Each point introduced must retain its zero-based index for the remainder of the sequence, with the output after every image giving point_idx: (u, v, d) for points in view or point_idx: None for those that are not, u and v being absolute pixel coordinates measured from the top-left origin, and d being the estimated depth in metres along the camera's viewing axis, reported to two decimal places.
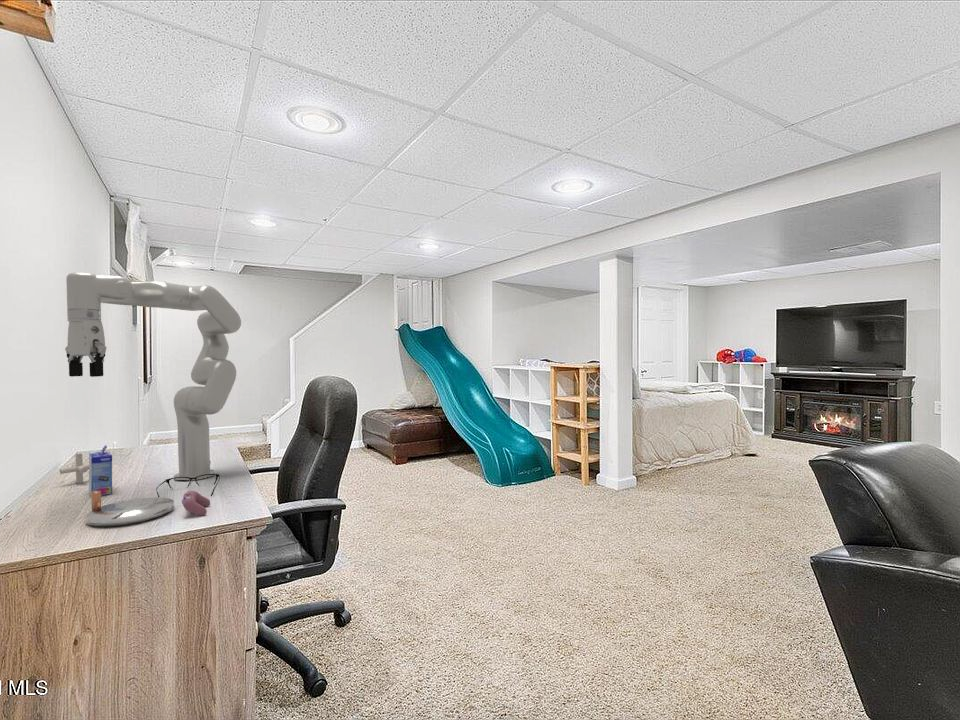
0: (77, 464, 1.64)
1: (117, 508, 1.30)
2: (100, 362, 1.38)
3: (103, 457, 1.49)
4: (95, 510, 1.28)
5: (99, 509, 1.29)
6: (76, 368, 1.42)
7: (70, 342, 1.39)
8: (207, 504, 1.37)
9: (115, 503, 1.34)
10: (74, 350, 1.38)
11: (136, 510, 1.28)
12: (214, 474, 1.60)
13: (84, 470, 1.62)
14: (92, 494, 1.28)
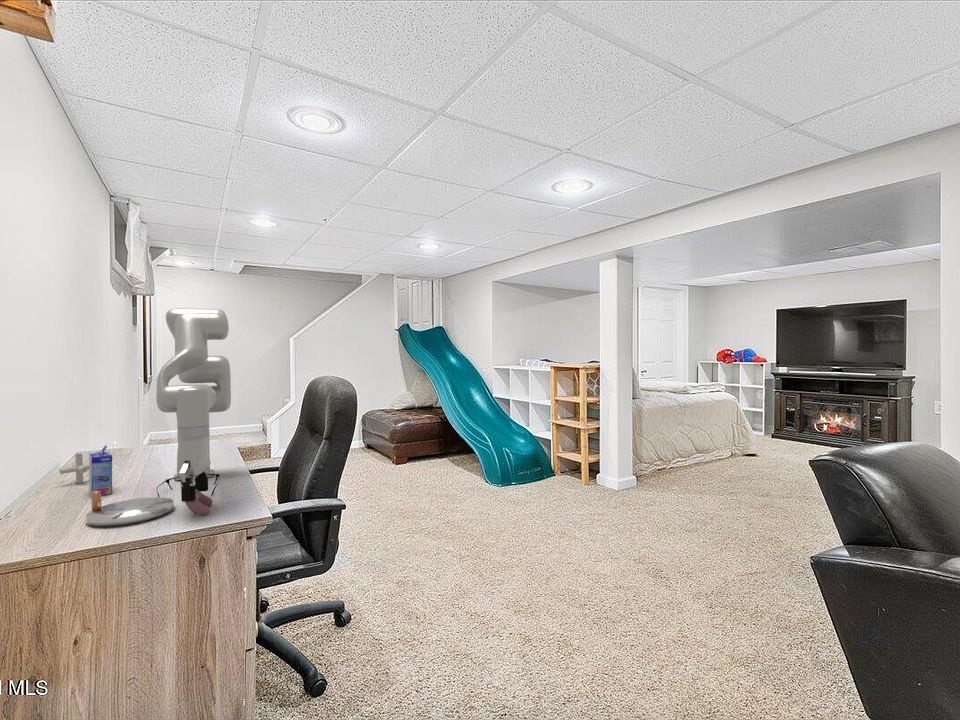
0: (77, 464, 1.64)
1: (117, 508, 1.30)
2: None
3: (103, 457, 1.49)
4: (95, 510, 1.28)
5: (99, 509, 1.29)
6: None
7: (200, 460, 1.30)
8: (210, 503, 1.37)
9: (115, 503, 1.34)
10: (202, 468, 1.32)
11: (136, 510, 1.28)
12: (214, 474, 1.60)
13: (84, 470, 1.62)
14: (92, 494, 1.28)
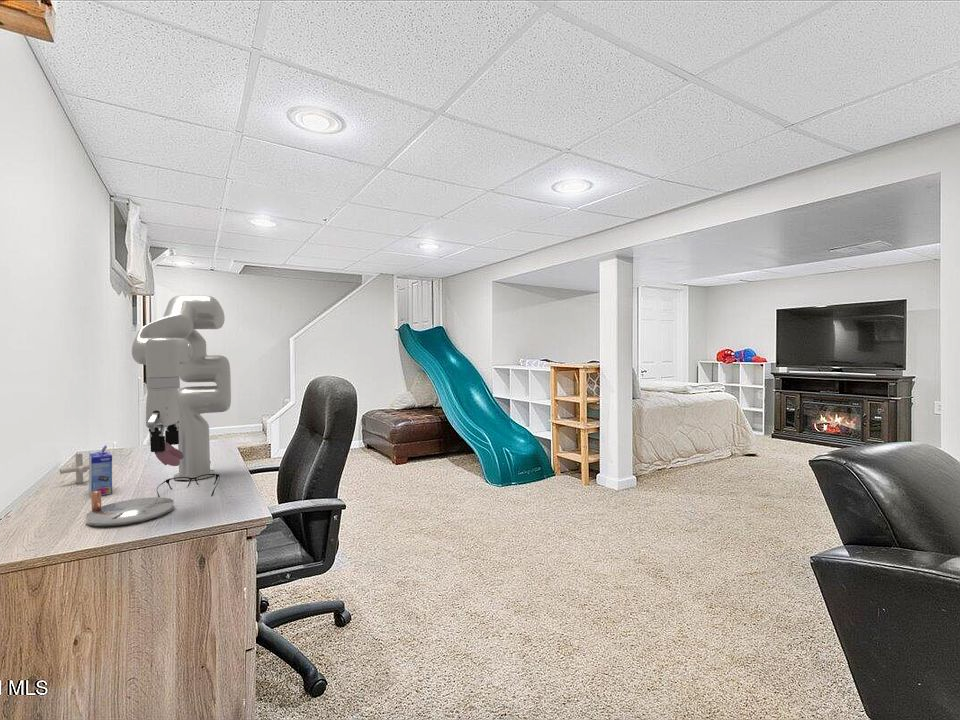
0: (77, 464, 1.64)
1: (117, 508, 1.30)
2: None
3: (103, 457, 1.49)
4: (95, 510, 1.28)
5: (99, 509, 1.29)
6: None
7: (170, 411, 1.29)
8: (181, 457, 1.36)
9: (115, 503, 1.34)
10: (172, 419, 1.31)
11: (136, 510, 1.28)
12: (214, 474, 1.60)
13: (84, 470, 1.62)
14: (92, 494, 1.28)
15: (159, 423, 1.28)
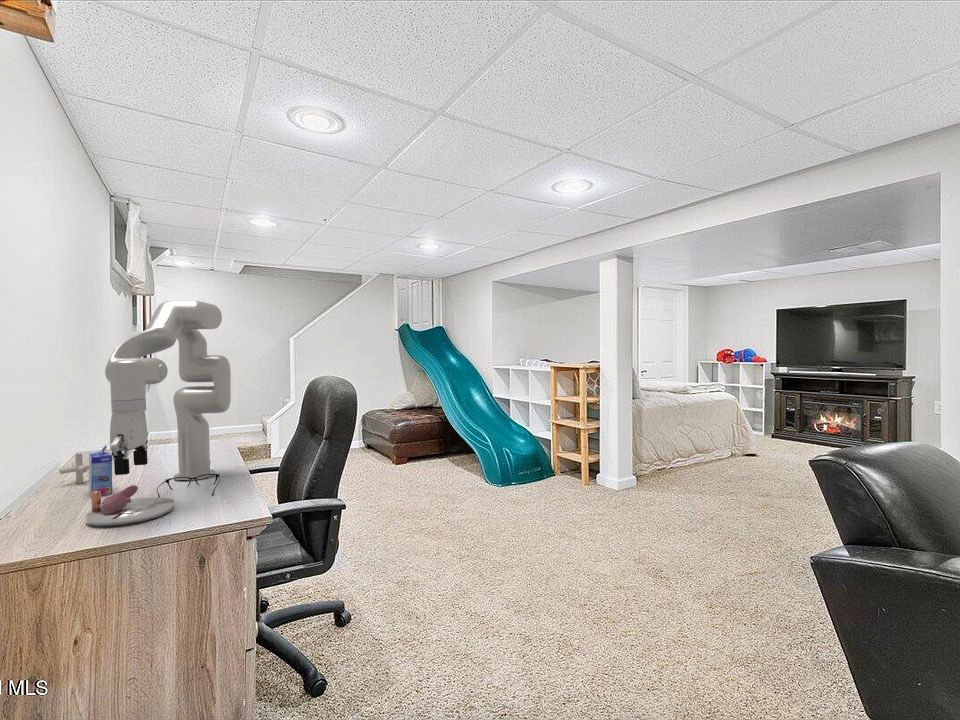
0: (77, 464, 1.64)
1: None
2: None
3: (103, 457, 1.49)
4: (95, 510, 1.28)
5: (99, 509, 1.29)
6: None
7: (135, 434, 1.28)
8: (134, 488, 1.34)
9: None
10: (137, 442, 1.30)
11: (136, 510, 1.28)
12: (214, 474, 1.60)
13: (84, 470, 1.62)
14: (92, 494, 1.28)
15: (124, 446, 1.27)
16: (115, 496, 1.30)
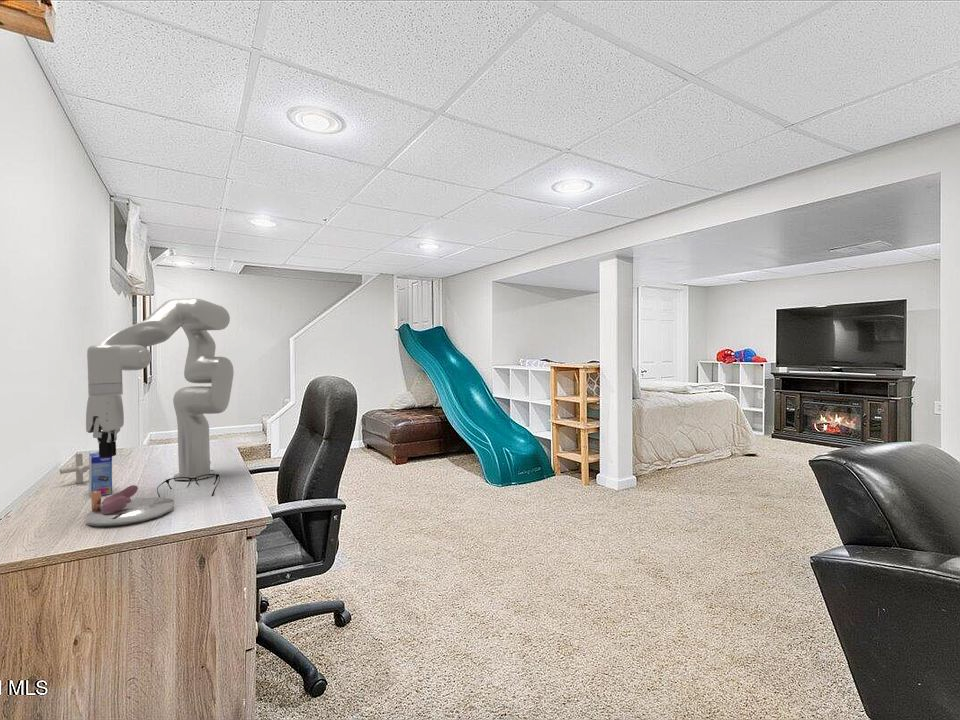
0: (77, 464, 1.64)
1: None
2: None
3: (103, 457, 1.49)
4: (95, 510, 1.28)
5: (99, 509, 1.29)
6: None
7: (111, 417, 1.32)
8: (134, 488, 1.34)
9: None
10: (113, 425, 1.34)
11: (136, 510, 1.28)
12: (214, 474, 1.60)
13: (84, 470, 1.62)
14: (92, 494, 1.28)
15: None
16: (115, 496, 1.30)
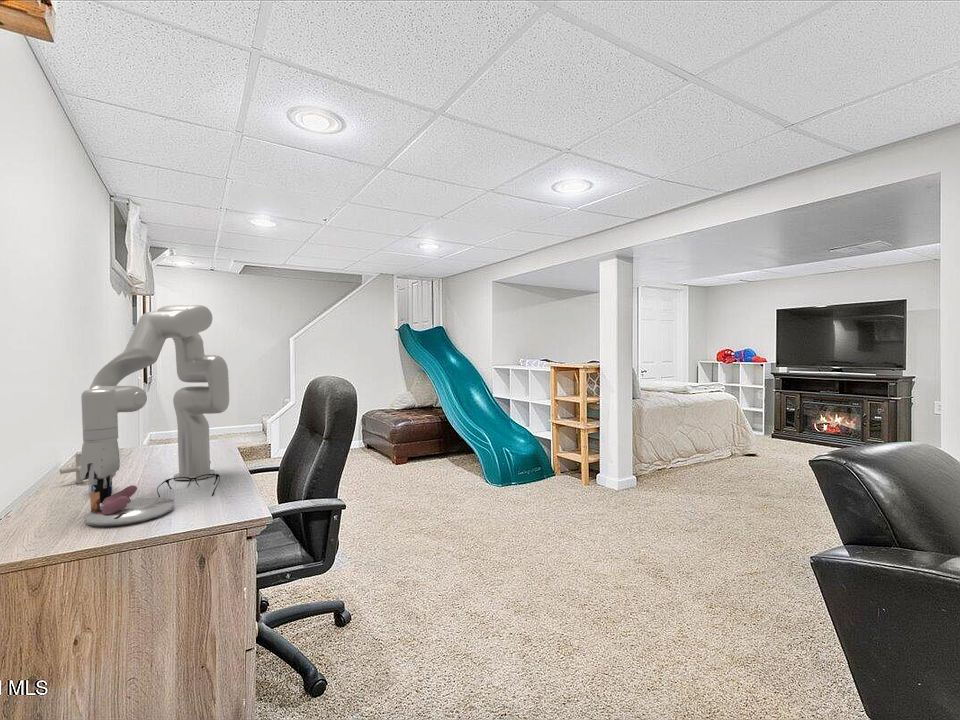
0: (77, 464, 1.64)
1: None
2: None
3: None
4: (94, 511, 1.27)
5: (98, 510, 1.28)
6: None
7: (106, 463, 1.29)
8: (133, 488, 1.33)
9: None
10: (109, 470, 1.31)
11: (137, 510, 1.28)
12: (214, 474, 1.60)
13: None
14: (91, 495, 1.27)
15: None
16: (114, 496, 1.30)
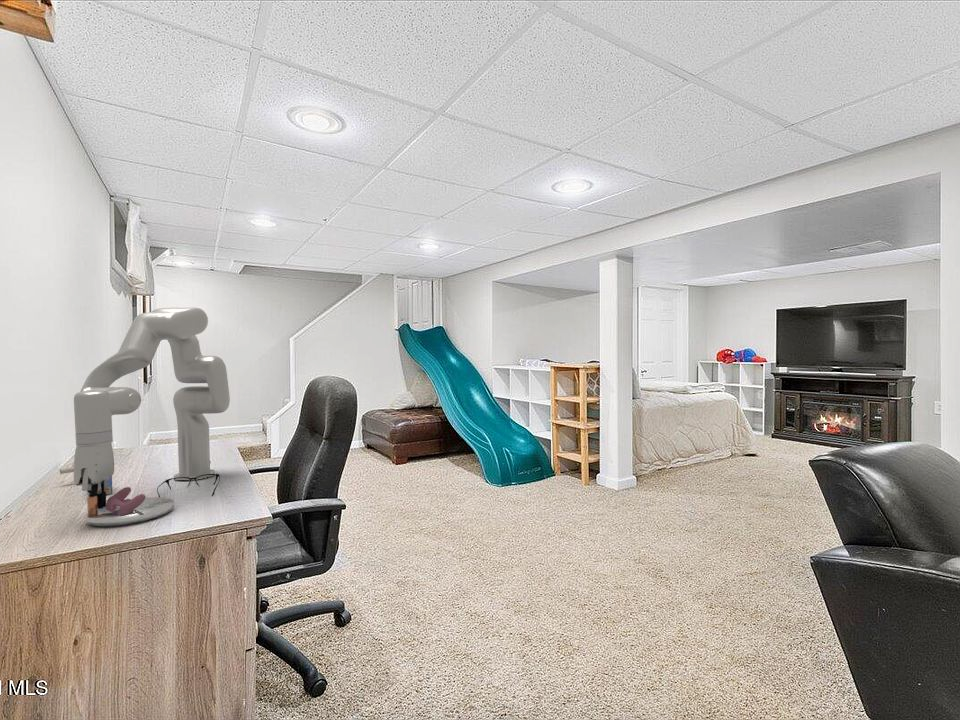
0: None
1: None
2: None
3: None
4: (94, 515, 1.24)
5: (97, 514, 1.24)
6: None
7: (100, 467, 1.25)
8: (129, 489, 1.32)
9: None
10: (103, 475, 1.26)
11: (145, 507, 1.30)
12: (214, 474, 1.60)
13: None
14: (91, 499, 1.23)
15: None
16: (116, 499, 1.28)
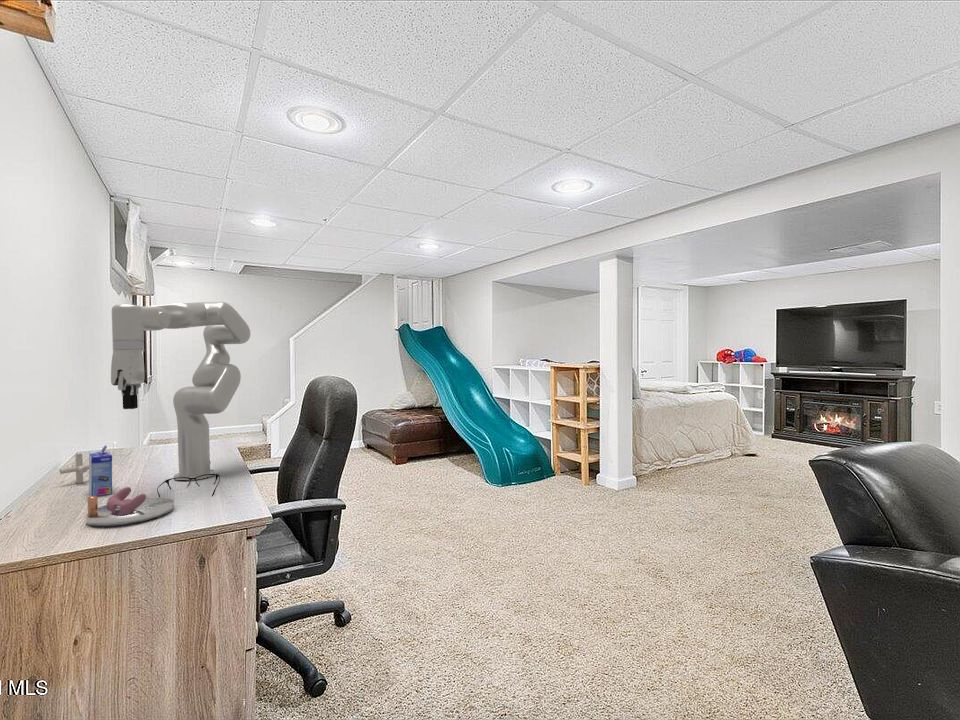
0: (77, 464, 1.64)
1: None
2: None
3: (103, 457, 1.49)
4: (95, 515, 1.23)
5: (97, 514, 1.24)
6: None
7: (133, 371, 1.42)
8: (129, 489, 1.32)
9: None
10: (136, 379, 1.43)
11: (145, 507, 1.30)
12: (214, 474, 1.60)
13: (84, 470, 1.62)
14: (91, 499, 1.23)
15: None
16: (117, 499, 1.28)
